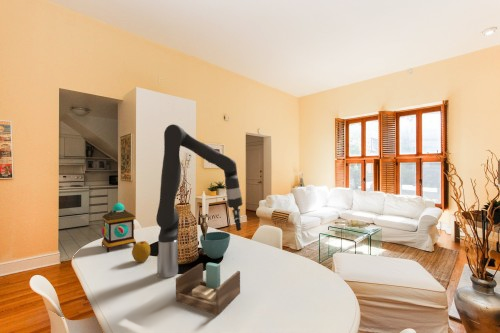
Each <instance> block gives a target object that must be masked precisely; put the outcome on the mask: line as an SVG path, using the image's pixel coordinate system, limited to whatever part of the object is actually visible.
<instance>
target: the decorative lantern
mask: <svg viewBox="0 0 500 333" xmlns="http://www.w3.org/2000/svg"><path fill="white" fill-rule="evenodd" d="M101 218H102V220H103V227H102V228H101V234H102V236H103V239H102V240H101V246H102V247H105V248H106V251H107V253H110V250H111V248H116V247H120V246H125V245H131V244H132V245H133V247H134V245H135V244H136V243H137V241H136V238H135V234H134V233H135V228H136V227H135V223H134V222H135V219H136V216H135V215H134V214H133V213H131V212H129V211H127V210H126V209H125V205H124V204H122V203H121V202H117V203H116V204H115V205H113V207H112V209H111V211H109V212H108V213H105V214H103V216H102V217H101ZM103 245H104V246H103Z"/></svg>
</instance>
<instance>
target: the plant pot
mask: <svg viewBox="0 0 500 333" xmlns="http://www.w3.org/2000/svg"><path fill="white" fill-rule="evenodd" d="M230 241H231V234H230V233H229V232H225V231H210V232H206V240H204V237H203V234H201V235H200V236H199V242H200V246H201V248H202V250H203V252H204V254H206V256H207V257H208V258H209V257H210V259H220V258H221V257H223V256H224V255H225V253H226V251H227V250H228V249H229V248H228V247H229V245H230Z"/></svg>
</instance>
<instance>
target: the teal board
mask: <svg viewBox="0 0 500 333" xmlns="http://www.w3.org/2000/svg"><path fill="white" fill-rule="evenodd" d="M205 282H206V287H208V288H211V289H214V290H216V289H217V288H218V287H219V286H220V285H221V264H220V263H214V262H207V263H206V264H205Z"/></svg>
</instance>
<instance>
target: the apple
mask: <svg viewBox="0 0 500 333" xmlns="http://www.w3.org/2000/svg"><path fill="white" fill-rule="evenodd" d="M131 255H132V258H133V260H134V262H136V263H144V262H146V261H148V258H149V257H150V255H151V246H150V244H149V243H148V242H147V241H144V240H143V241H138V242H137V241H136V244H135V245H134V246H133V247H132V250H131Z"/></svg>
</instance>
